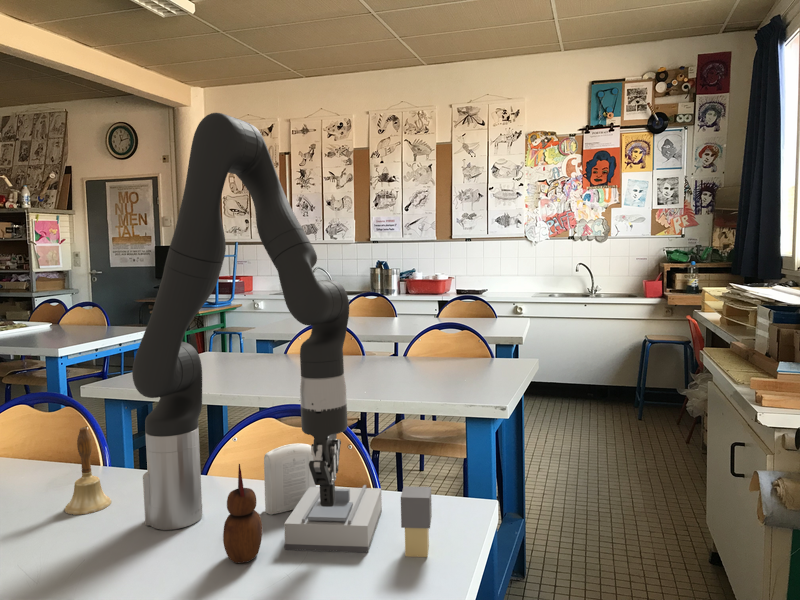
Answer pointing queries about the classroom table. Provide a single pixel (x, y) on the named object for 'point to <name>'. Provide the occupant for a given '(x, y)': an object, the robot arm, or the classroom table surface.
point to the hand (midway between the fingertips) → (328, 504)
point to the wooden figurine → (242, 525)
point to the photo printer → (286, 476)
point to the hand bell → (86, 482)
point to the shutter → (333, 508)
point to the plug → (416, 519)
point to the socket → (335, 523)
